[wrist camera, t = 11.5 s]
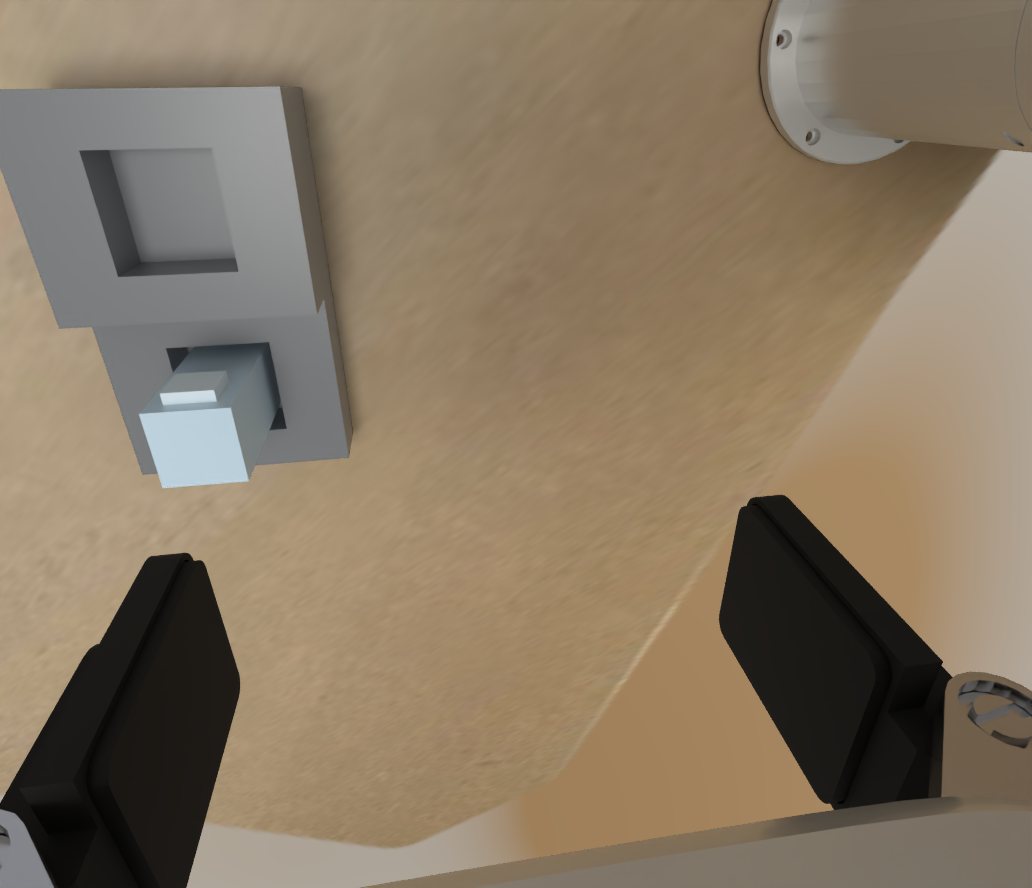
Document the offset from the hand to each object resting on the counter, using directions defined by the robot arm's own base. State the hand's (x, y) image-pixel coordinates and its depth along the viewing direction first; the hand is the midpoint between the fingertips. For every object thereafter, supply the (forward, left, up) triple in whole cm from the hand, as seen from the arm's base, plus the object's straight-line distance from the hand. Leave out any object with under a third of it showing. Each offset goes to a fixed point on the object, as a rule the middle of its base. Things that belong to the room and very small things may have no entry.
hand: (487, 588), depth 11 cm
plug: (+12, +7, -30) cm, 33 cm away
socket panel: (+12, +2, -30) cm, 33 cm away
